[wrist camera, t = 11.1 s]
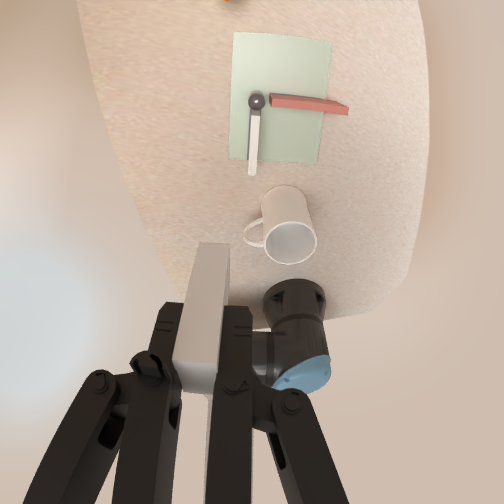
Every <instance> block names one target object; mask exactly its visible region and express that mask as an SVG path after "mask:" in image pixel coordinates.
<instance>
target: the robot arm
mask: <svg viewBox="0 0 504 504" xmlns="http://www.w3.org/2000/svg"><path fill="white" fill-rule="evenodd" d="M229 284H230V244H223V243H202V242H200V243H199V246H198V250H197V254H196V258H195V261H194V265H193V269H192V273H191V277H190V281H189V285H188V289H187V294H186V298H185V302H184V303H175V302H166V303H165V304H164V305H163V306H162V308H161V309H160V310H159V313H158V316H157V320H156V323H155V327H154V331H153V334H152V338H151V341H150V345H149V348H148V351H142V352H140V353H138V354H136V355H135V356H134V357H133V358H132V360H131V361H130V363H129V364H130V366H131V367H132V369H133V370H134V372H131V373H127V374H119V375H113V374H111V373H110V372H109V371H106V370H103V369H102V370H96V371H94V372H92V373H91V374H90V375H89V376H88V377H87V378H86V380H85V382H84V383H83V385H82V387H81V388H80V390H79V392H78V394H77V396H76V397H75V399H74V401H73V402H72V404H71V406H70V407H69V409H68V411H67V413H66V415H65V417H64V418H63V420H62V422H61V424H60V426H59V428H58V429H57V431H56V433H55V435H54V437H53V439H52V441H51V443H50V445H49V447H48V449H47V451H46V453H45V455H44V457H43V459H42V461H41V463H40V465H39V467H38V469H37V472H36V474H35V476H34V478H33V480H32V483H31V485H30V487H29V489H28V492H27V494H26V497H25V499H24V502H23V504H94V503H95V501H96V499H97V497H98V495H99V492H100V490H101V488H102V486H103V483H104V481H105V479H106V477H107V474H108V472H109V470H110V468H111V466H112V464H113V462H114V459H115V457H116V455H117V453H118V451H119V449H120V451H119V456H118V462H117V468H116V475H115V481H114V488H113V496H112V504H171V501H172V489H173V478H174V468H175V458H176V449H177V441H178V433H179V424H180V416H181V409H182V400H181V391H182V389H183V391H184V392H190V393H198V394H204V395H205V397H207V399H208V401H209V404H208V417H207V418H208V419H207V435H206V453H205V475H204V504H252V482H253V428H254V429H257V430H260V431H263V432H266V434H267V437H268V441H269V444H270V447H271V451H272V454H273V457H274V461H275V464H276V467H277V471H278V474H279V477H280V480H281V483H282V486H283V490H284V493H285V496H286V499H287V502H288V504H349V502H348V499H347V496H346V494H345V491H344V488H343V486H342V483H341V481H340V478H339V475H338V473H337V470H336V467H335V465H334V462H333V459H332V457H331V454H330V452H329V449H328V446H327V443H326V441H325V438H324V435H323V433H322V430H321V428H320V425H319V422H318V420H317V417H316V414H315V412H314V409H313V406H312V404H311V401H310V399H309V398H308V396H307V394H309V393H311V392H314V391H315V390H318V389H320V388H321V387H322V386H324V385H325V384H326V383H327V382H328V380H329V379H330V376H331V367H330V356H329V352H328V347H327V342H326V337H325V332H324V328H323V318H324V313H325V307H326V300H325V296H324V292H323V290H322V289H321V287H320V286H318V285H317V284H315V283H314V282H311V281H308V280H303V279H293V280H287V281H283V282H280V283H278V284H276V285H274V286H273V287H271V288H270V289H269V290H268V291H267V292H266V294H265V296H264V298H263V313H264V315H265V318H266V320H267V322H268V324H269V326H270V328H271V332H258V331H252V314H251V312H250V310H249V308H248V307H247V306H227V305H228V295H229ZM271 387H273V388H271Z"/></svg>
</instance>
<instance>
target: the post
mask: <svg viewBox="0 0 504 504" xmlns="http://www.w3.org/2000/svg"><path fill="white" fill-rule="evenodd" d="M248 105H249V107H250V108H251V109H253V110H261V109H262V108H263V107H264V106H265V99H264V96H263V94H262V93H261V92H260V91H257V90H255V91H252V92H251V93H250V95H249V100H248Z"/></svg>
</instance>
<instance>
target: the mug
mask: <svg viewBox="0 0 504 504" xmlns="http://www.w3.org/2000/svg"><path fill="white" fill-rule="evenodd" d="M261 212H262V217H261V218H259V219H257V220H255V221H253V222H252V223H250V224H249V225H248V226H247V227H246V228H245V230H244V232H243V238H244V241H245V242H246V243H247V244H248V245H250V246H253V247H264V249H265V252H266V254H267V255H268V256H269V258H271V259H272V260H273V261H275V262H277V263H280V264H284V265H293V264H298V263H301V262H303V261H305V260H306V259H308V258H309V257H310V256H311V255H312V254H313V253H314V251H315V249H316V246H317V236H316V233H315V230H314V227H313V224H312V220H311V217H310V214H309V211H308V208H307V201H306V198H305V196H304V195H303V193H302V192H301V191H300V190H298V189H297V188H295V187H292V186H287V185H282V186H277V187H274V188H272V189H271V190H269V191H268V192H267V193H266V194H265V195H264V197H263V199H262V201H261ZM261 223H263V239H264V240H263V241H251V240H248V239H247V238H246V234H247V232H248V231H249V230H250V229H251V228H252V227H254V226H256V225H258V224H261Z"/></svg>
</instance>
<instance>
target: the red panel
mask: <svg viewBox="0 0 504 504" xmlns="http://www.w3.org/2000/svg"><path fill="white" fill-rule="evenodd" d="M269 102H270V104H271V107H279V108H292V109H302V110H311V111H320V112H327V113H334V114H341V115H347V116H348V110H349V107H347V106H344V105H342V104H340V103H338V102H336V101H330V100H323V99H316V98H307V97H298V96H287V95H274V94H269Z"/></svg>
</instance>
